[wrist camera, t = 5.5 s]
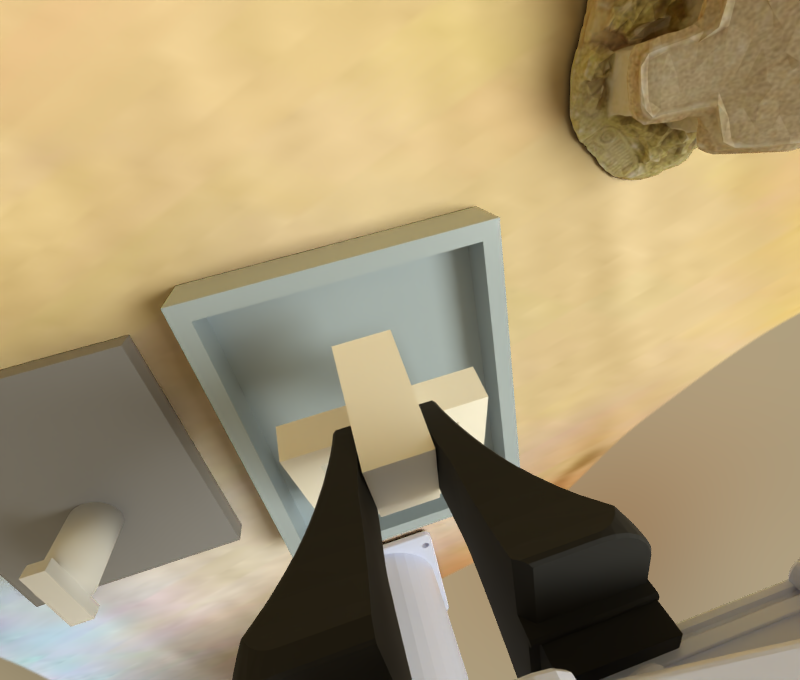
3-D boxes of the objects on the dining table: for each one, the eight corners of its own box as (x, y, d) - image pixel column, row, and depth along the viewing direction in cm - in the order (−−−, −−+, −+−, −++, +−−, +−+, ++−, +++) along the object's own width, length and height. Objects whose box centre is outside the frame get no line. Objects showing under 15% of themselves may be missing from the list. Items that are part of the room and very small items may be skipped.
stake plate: (241, 525, 25) (231, 611, 21) (45, 589, 24) (-9, 695, 20) (129, 334, 19) (80, 402, 14) (-147, 410, 18) (-293, 509, 13)
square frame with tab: (469, 454, 23) (506, 538, 20) (325, 501, 22) (342, 596, 20) (475, 304, 14) (540, 414, 12) (239, 373, 14) (246, 510, 11)
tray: (503, 463, 28) (522, 492, 26) (297, 532, 26) (298, 569, 24) (476, 206, 20) (499, 217, 17) (175, 285, 18) (160, 308, 16)
